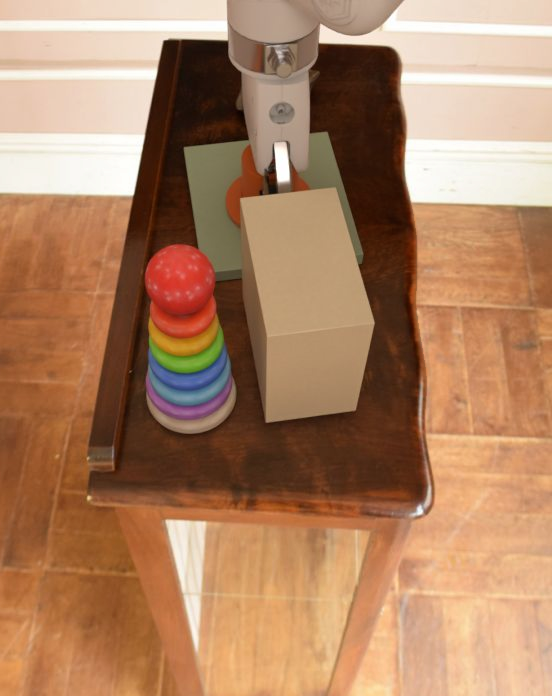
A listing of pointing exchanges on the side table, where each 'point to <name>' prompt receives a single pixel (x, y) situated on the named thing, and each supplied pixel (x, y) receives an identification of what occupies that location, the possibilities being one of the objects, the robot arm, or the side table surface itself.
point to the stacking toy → (186, 344)
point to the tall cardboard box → (303, 304)
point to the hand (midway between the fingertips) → (270, 195)
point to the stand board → (217, 176)
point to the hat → (253, 185)
